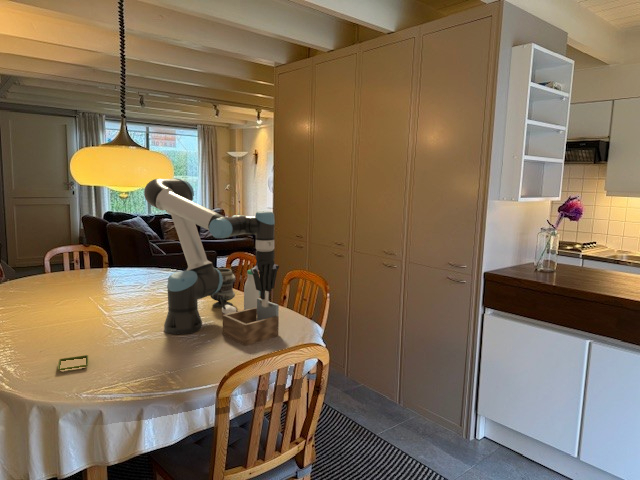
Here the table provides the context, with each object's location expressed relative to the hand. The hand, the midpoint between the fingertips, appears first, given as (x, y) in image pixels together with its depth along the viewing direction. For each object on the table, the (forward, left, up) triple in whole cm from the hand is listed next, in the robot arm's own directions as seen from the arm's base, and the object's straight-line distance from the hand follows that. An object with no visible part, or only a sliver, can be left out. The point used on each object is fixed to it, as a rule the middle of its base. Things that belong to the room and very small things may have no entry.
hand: (265, 306), depth 181 cm
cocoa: (-11, +20, -11) cm, 25 cm away
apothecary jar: (-9, +42, -11) cm, 44 cm away
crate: (-7, -2, -11) cm, 13 cm away
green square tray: (-69, -10, -11) cm, 70 cm away
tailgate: (+1, +1, -8) cm, 8 cm away
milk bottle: (+2, +28, -11) cm, 30 cm away
